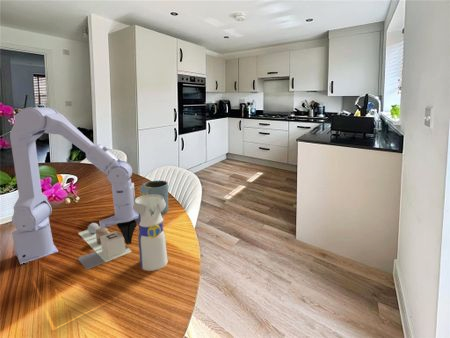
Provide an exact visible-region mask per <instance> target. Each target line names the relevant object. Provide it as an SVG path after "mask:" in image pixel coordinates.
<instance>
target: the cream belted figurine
mask: <svg viewBox="0 0 450 338" xmlns="http://www.w3.org/2000/svg"><path fill="white" fill-rule="evenodd" d="M144 183H145V182H143V183H142V184H141V186H140V187H136V189H137V190H138V191H140V192H139V195H140V196H137V197H135V202H134V205H133V209H134V211H135V212H137V213H138V214H139V217H138V219H136V222H137V225H138V231H139V232H138V239H137V240H138V241H137V242H138V253H139V254H138V255H139V267H140V269H142V270H144V271H151V272H152V271H157V270H160V269H163V268H164V267H165V266H166V265H167V264H168V260H169V259H168V253H167V242H166V234H165V230H164V227H163V226H164V223H163V221H164V216H163V214H162V215H161V212H162V211H163V210H164V209H165V207H166V203H165V200H164V198H163V197H162V196H161V195H156V194H150V195H148V192H147V191H148V190H149V189H150V188H151V187H145V185H144ZM144 194H146V195H144Z"/></svg>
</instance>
